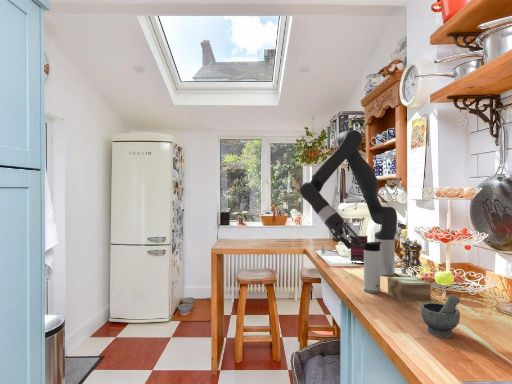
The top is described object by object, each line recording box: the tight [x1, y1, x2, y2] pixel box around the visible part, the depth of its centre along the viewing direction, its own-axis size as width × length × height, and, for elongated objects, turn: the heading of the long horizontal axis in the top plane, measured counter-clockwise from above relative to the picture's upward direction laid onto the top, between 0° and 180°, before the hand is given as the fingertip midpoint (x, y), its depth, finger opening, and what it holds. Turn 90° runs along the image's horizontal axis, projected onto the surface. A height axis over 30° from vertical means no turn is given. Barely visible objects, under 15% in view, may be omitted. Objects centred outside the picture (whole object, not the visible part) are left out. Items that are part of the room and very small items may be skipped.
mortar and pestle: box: [420, 294, 461, 338], centre depth 93 cm, size 11×9×12 cm
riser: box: [387, 276, 432, 302], centre depth 127 cm, size 11×11×6 cm
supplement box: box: [350, 234, 369, 262], centre depth 189 cm, size 9×5×16 cm, turn 58°
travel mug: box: [363, 241, 381, 294], centre depth 134 cm, size 6×7×20 cm
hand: (355, 246), depth 138 cm, fingers open, 8 cm apart
